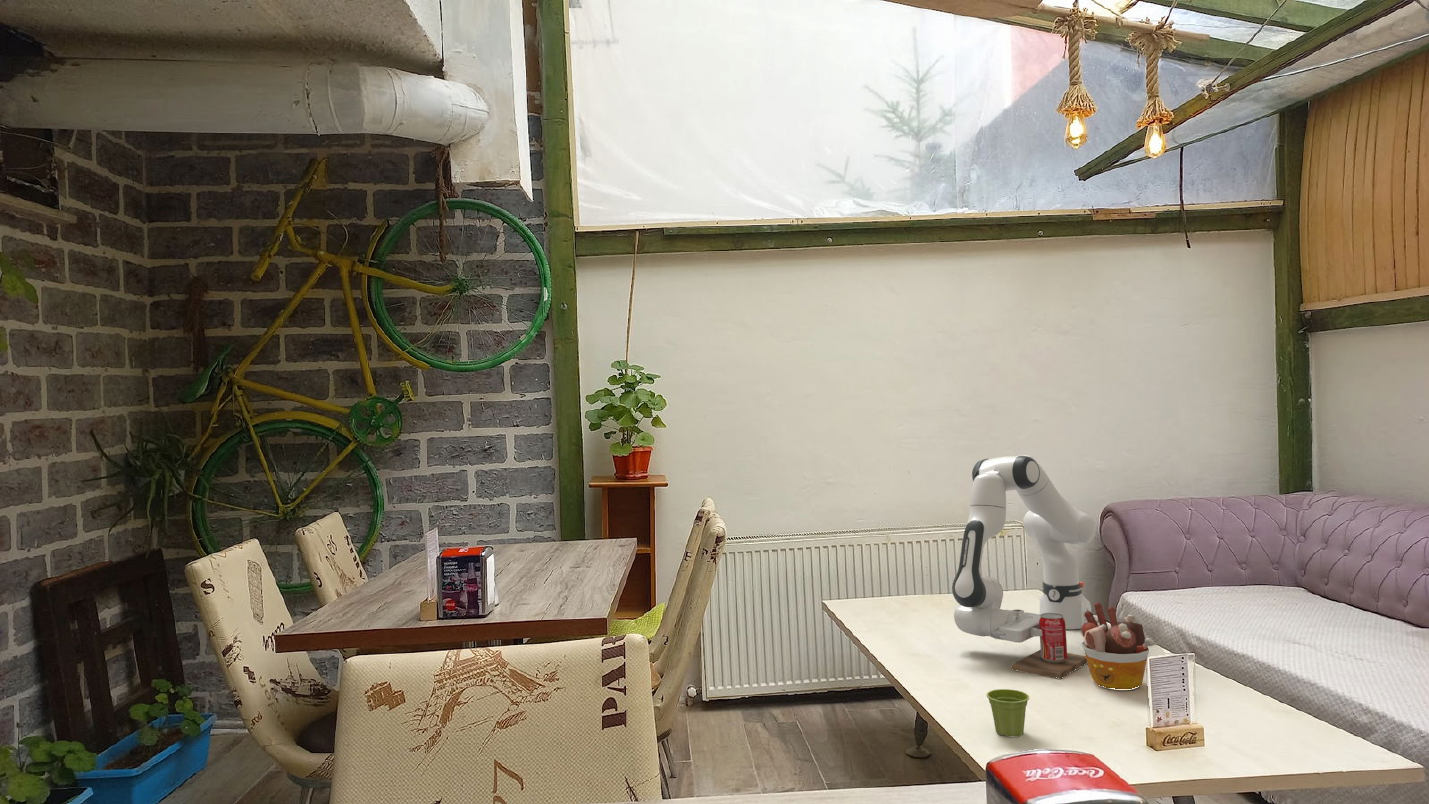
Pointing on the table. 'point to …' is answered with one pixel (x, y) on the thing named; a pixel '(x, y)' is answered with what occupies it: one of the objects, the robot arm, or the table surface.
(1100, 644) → the bucket of meat
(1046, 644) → the soda can
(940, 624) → the table surface
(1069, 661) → the walnut board
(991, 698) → the plant pot
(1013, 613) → the robot arm
